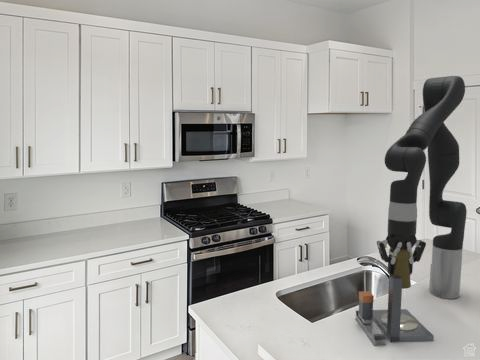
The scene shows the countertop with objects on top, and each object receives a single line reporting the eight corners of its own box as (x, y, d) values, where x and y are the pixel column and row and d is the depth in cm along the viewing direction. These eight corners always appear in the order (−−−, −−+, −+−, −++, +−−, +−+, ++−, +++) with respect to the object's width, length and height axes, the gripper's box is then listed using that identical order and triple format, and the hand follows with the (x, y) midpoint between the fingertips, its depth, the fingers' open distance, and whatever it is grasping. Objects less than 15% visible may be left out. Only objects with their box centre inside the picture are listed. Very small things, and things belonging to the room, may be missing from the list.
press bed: (368, 314, 121) (370, 259, 118) (406, 313, 121) (408, 258, 119) (390, 342, 105) (393, 278, 103) (433, 340, 105) (437, 277, 103)
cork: (405, 280, 114) (406, 244, 113) (414, 288, 108) (416, 250, 107) (385, 280, 114) (386, 244, 113) (393, 288, 108) (395, 251, 107)
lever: (357, 315, 116) (357, 290, 115) (367, 315, 116) (368, 290, 115) (363, 323, 111) (363, 297, 110) (373, 323, 111) (374, 297, 110)
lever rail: (355, 318, 118) (355, 310, 118) (365, 318, 118) (365, 310, 118) (374, 345, 103) (374, 336, 103) (385, 345, 103) (385, 335, 103)
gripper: (420, 214, 113) (417, 270, 115) (372, 214, 112) (370, 271, 114) (434, 219, 105) (430, 279, 108) (383, 220, 105) (380, 280, 107)
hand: (399, 275), depth 111 cm, fingers closed on cork, 4 cm apart
